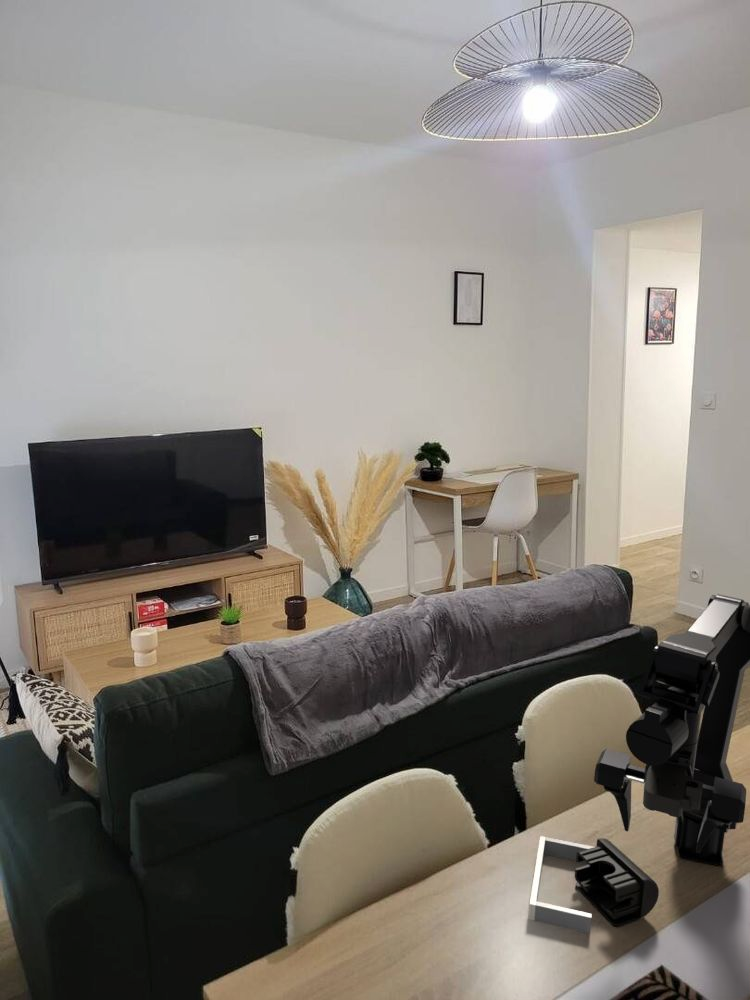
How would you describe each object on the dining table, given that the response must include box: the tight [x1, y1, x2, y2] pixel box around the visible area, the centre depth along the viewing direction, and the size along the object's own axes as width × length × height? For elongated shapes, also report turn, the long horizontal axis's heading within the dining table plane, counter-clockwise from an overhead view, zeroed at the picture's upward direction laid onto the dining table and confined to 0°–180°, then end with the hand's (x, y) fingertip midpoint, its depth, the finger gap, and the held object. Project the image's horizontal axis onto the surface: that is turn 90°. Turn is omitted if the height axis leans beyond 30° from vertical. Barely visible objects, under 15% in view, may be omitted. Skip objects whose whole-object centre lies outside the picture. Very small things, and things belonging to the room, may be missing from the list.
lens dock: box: [528, 835, 595, 934], centre depth 114 cm, size 8×16×2 cm, turn 163°
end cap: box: [574, 837, 660, 929], centre depth 112 cm, size 10×7×7 cm
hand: (661, 840), depth 106 cm, fingers open, 9 cm apart
